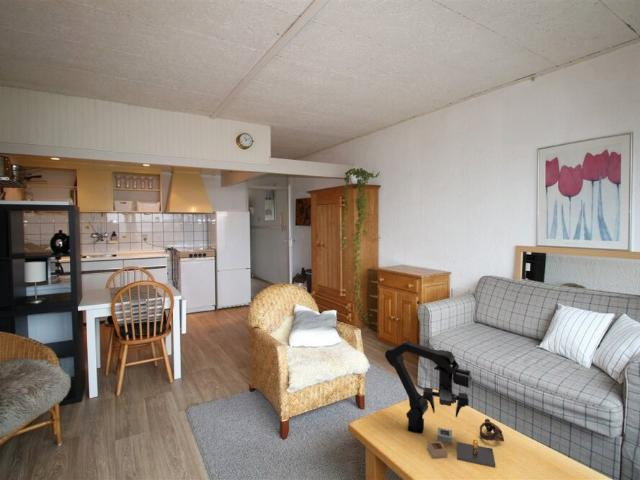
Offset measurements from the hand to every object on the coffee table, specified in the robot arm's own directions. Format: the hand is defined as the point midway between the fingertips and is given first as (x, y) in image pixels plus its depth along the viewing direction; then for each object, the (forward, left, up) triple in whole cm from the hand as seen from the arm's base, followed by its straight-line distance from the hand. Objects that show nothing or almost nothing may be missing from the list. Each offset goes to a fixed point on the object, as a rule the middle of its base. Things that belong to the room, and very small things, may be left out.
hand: (445, 414), depth 157 cm
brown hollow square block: (-3, -11, -11) cm, 16 cm away
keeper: (+12, -7, -11) cm, 18 cm away
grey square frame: (0, 0, -11) cm, 11 cm away
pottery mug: (+20, +8, -12) cm, 24 cm away
